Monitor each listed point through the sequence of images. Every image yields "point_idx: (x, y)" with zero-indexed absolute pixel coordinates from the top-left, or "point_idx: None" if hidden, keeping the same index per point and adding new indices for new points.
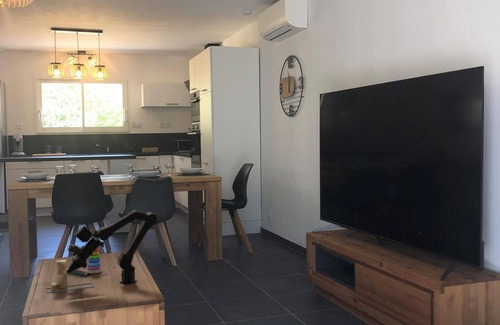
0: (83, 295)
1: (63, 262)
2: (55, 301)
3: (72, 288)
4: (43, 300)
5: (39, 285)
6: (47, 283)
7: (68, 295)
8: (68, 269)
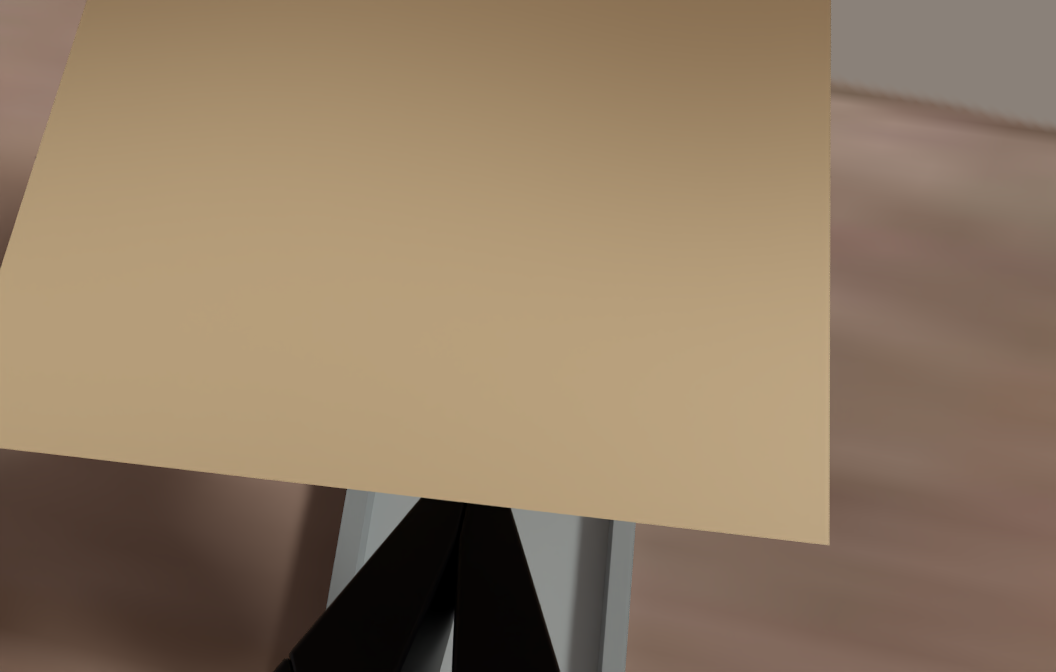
0: (11, 642)
1: (71, 207)
2: (16, 205)
3: (353, 535)
4: None
5: (975, 154)
6: (1044, 269)
7: None
8: (389, 539)
